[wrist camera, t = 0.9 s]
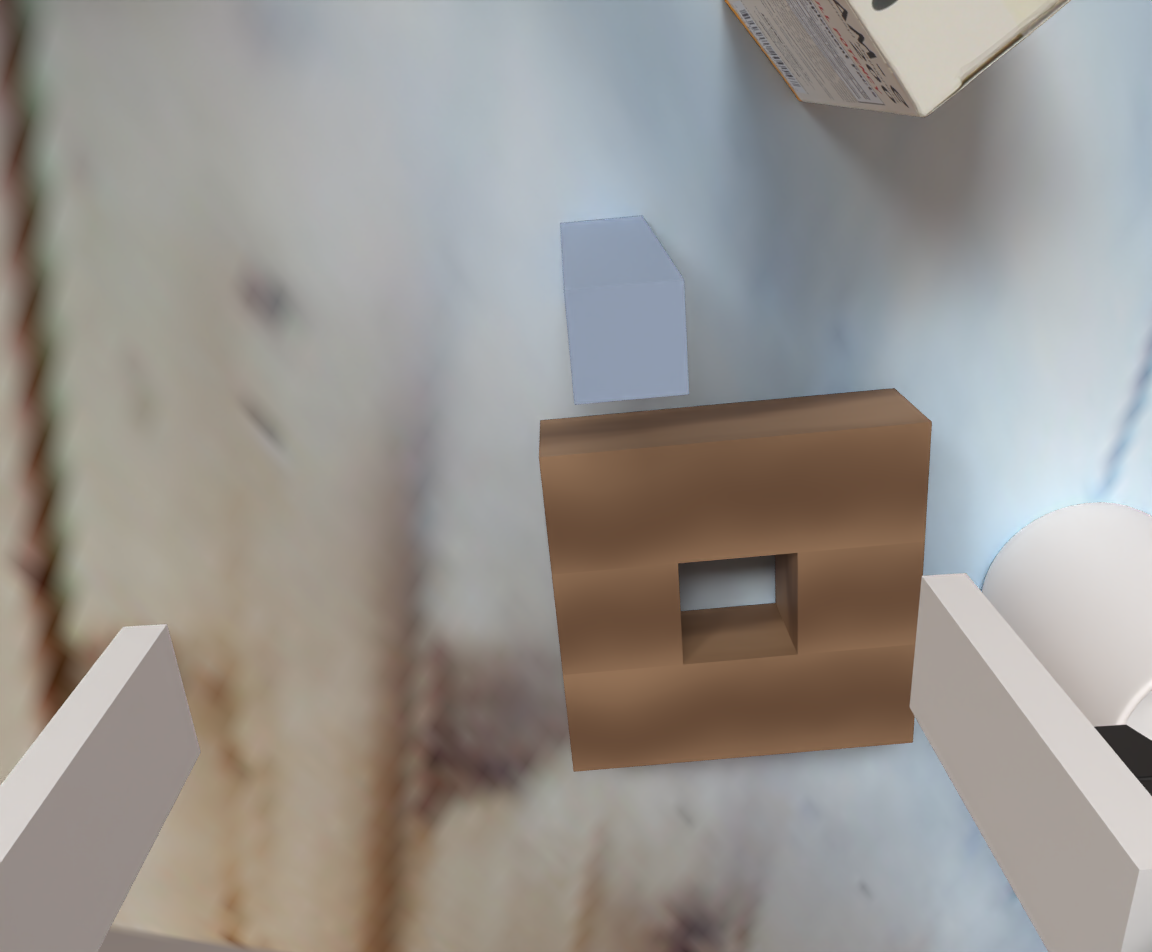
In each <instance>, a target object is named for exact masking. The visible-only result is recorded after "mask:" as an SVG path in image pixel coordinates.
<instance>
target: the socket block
mask: <svg viewBox="0 0 1152 952" xmlns="http://www.w3.org/2000/svg"><path fill="white" fill-rule="evenodd" d="M931 426H932V422H931V421H930V420H929V419H928V418H927V417H926V416H925V415H923V414H922V413H921V412H920V411H919V410H918V409H917V408H916V407H915V406H913V405H912V404H911V403H910V402H909V401H908V400H907V399H906V398H905V397H903V396H902V395H901V394H900V393H899V392H898V391H897V390H896V389H895V388H893V389H882V390H871V391H860V392H849V393H838V394H827V395H816V396H805V397H794V398H783V399H772V400H761V401H750V402H739V403H727V404H716V405H705V406H694V407H683V408H672V409H661V410H650V411H639V412H628V413H617V414H606V415H595V416H584V417H573V418H562V419H551V420H540V443H539V462H540V471H541V480H542V489H543V498H544V507H545V516H546V525H547V534H548V543H549V552H550V562H551V571H552V580H553V589H554V598H555V607H556V616H557V625H558V634H559V643H560V652H561V661H562V670H563V679H564V688H565V697H566V707H567V716H568V725H569V734H570V743H571V752H572V761H573V770H574V772H575V771H587V770H598V769H610V768H622V767H633V766H645V765H657V764H668V763H680V762H691V761H703V760H715V759H726V758H738V757H749V756H761V755H773V754H784V753H796V752H808V751H819V750H831V749H842V748H854V747H866V746H877V745H889V744H901V743H912V742H913V731H914V714H913V712H912V711H911V709H910V696H911V686H912V675H913V664H914V654H915V643H916V632H917V622H918V611H919V600H920V590H921V579H922V576H923V562H924V545H925V528H926V511H927V494H928V477H929V460H930V443H931ZM767 555H775V592H776V603H770V604H759V605H748V606H736V607H725V608H714V609H702V610H691V611H680V592H679V573H678V563H688V562H699V561H711V560H722V559H733V558H744V557H756V556H767Z"/></svg>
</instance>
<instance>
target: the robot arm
mask: <svg viewBox="0 0 1152 952" xmlns="http://www.w3.org/2000/svg"><path fill="white" fill-rule="evenodd" d="M910 709H911V711H912V712H913V714H914V716H915V718H916V719H917V721H918V723H919V725H920V726H921V728H922V730H923V732H924V733H925V735H926V737H927V739H928V740H929V742H930V744H931V746H932V748H933V749H934V751H935V753H936V755H937V756H938V758H939V760H940V762H941V763H942V765H943V767H944V769H945V770H946V772H947V774H948V776H949V777H950V779H951V781H952V783H953V785H954V786H955V788H956V790H957V792H958V793H959V795H960V797H961V799H962V800H963V802H964V804H965V806H966V807H967V809H968V811H969V813H970V814H971V816H972V818H973V820H974V822H975V823H976V825H977V827H978V829H979V830H980V832H981V834H982V836H983V837H984V839H985V841H986V843H987V844H988V846H989V848H990V850H991V851H992V853H993V855H994V857H995V859H996V860H997V862H998V864H999V866H1000V867H1001V869H1002V871H1003V873H1004V874H1005V876H1006V878H1007V880H1008V881H1009V883H1010V885H1011V887H1012V888H1013V890H1014V892H1015V894H1016V896H1017V897H1018V899H1019V901H1020V903H1021V904H1022V906H1023V908H1024V910H1025V911H1026V913H1027V915H1028V917H1029V918H1030V920H1031V922H1032V924H1033V925H1034V927H1035V929H1036V931H1037V933H1038V934H1039V936H1040V938H1041V940H1042V941H1043V943H1044V945H1045V947H1046V948H1047V950H1048V952H1152V740H1150V739H1148V738H1147V737H1145V736H1144V735H1142V734H1141V733H1139V732H1137V731H1136V730H1134V729H1133V728H1131V727H1129V726H1128V725H1112V726H1096V727H1094V726H1093V725H1092V724H1091V723H1090V722H1089V720H1088V719H1087V718H1086V717H1085V716H1084V714H1083V713H1082V712H1081V711H1080V710H1079V708H1078V707H1077V706H1076V705H1075V704H1074V702H1073V701H1072V700H1071V699H1070V698H1069V696H1068V695H1067V694H1066V693H1065V692H1064V690H1063V689H1062V688H1061V687H1060V686H1059V684H1058V683H1057V682H1056V681H1055V680H1054V678H1053V677H1052V676H1051V675H1050V674H1049V672H1048V671H1047V670H1046V669H1045V668H1044V666H1043V665H1042V664H1041V663H1040V662H1039V660H1038V659H1037V658H1036V657H1035V656H1034V654H1033V653H1032V652H1031V651H1030V650H1029V648H1028V647H1027V646H1026V645H1025V644H1024V642H1023V641H1022V640H1021V639H1020V638H1019V636H1018V635H1017V634H1016V633H1015V632H1014V630H1013V629H1012V628H1011V627H1010V626H1009V624H1008V623H1007V622H1006V621H1005V620H1004V618H1003V617H1002V616H1001V615H1000V614H999V612H998V611H997V610H996V609H995V607H994V606H993V605H992V604H991V603H990V601H989V600H988V599H987V598H986V597H985V595H984V594H983V593H982V592H981V591H980V589H979V588H978V587H977V586H976V585H975V583H974V582H973V581H972V580H971V579H970V577H969V576H968V575H967V574H966V573H959V574H944V575H928V576H922V579H921V590H920V600H919V611H918V622H917V632H916V643H915V654H914V664H913V675H912V686H911V696H910ZM199 754H200V748H199V744H198V740H197V736H196V733H195V729H194V725H193V721H192V717H191V714H190V710H189V706H188V702H187V698H186V694H185V691H184V687H183V683H182V679H181V675H180V672H179V668H178V664H177V660H176V656H175V653H174V649H173V645H172V641H171V637H170V634H169V630H168V626H167V624H160V625H144V626H128V627H122V629H121V630H120V631H119V633H118V634H117V635H116V636H115V638H114V639H113V640H112V642H111V643H110V644H109V646H108V647H107V648H106V649H105V651H104V652H103V653H102V655H101V656H100V657H99V658H98V660H97V661H96V662H95V664H94V665H93V666H92V668H91V669H90V670H89V671H88V673H87V674H86V675H85V677H84V678H83V679H82V680H81V682H80V683H79V684H78V686H77V687H76V688H75V690H74V691H73V692H72V693H71V695H70V696H69V697H68V699H67V700H66V701H65V702H64V704H63V705H62V706H61V708H60V709H59V710H58V712H57V713H56V714H55V715H54V717H53V718H52V719H51V721H50V722H49V723H48V724H47V726H46V727H45V728H44V730H43V731H42V732H41V733H40V735H39V736H38V737H37V739H36V740H35V741H34V743H33V744H32V745H31V746H30V748H29V749H28V750H27V752H26V753H25V754H24V755H23V757H22V758H21V759H20V761H19V762H18V763H17V765H16V766H15V767H14V768H13V770H12V771H11V772H10V774H9V775H8V776H7V777H6V779H5V780H4V781H3V783H2V784H1V785H0V952H98V950H99V948H100V946H101V944H102V942H103V941H104V939H105V937H106V935H107V933H108V931H109V929H110V927H111V925H112V923H113V921H114V919H115V917H116V915H117V913H118V911H119V910H120V908H121V906H122V904H123V902H124V900H125V898H126V896H127V894H128V892H129V890H130V888H131V886H132V884H133V882H134V880H135V879H136V877H137V875H138V873H139V871H140V869H141V867H142V865H143V863H144V861H145V859H146V857H147V855H148V853H149V851H150V849H151V848H152V846H153V844H154V842H155V840H156V838H157V836H158V834H159V832H160V830H161V828H162V826H163V824H164V822H165V820H166V818H167V816H168V815H169V813H170V811H171V809H172V807H173V805H174V803H175V801H176V799H177V797H178V795H179V793H180V791H181V789H182V787H183V785H184V784H185V782H186V780H187V778H188V776H189V774H190V772H191V770H192V768H193V766H194V764H195V762H196V760H197V758H198V756H199Z"/></svg>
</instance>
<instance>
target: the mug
mask: <svg viewBox="0 0 1152 952" xmlns="http://www.w3.org/2000/svg"><path fill="white" fill-rule="evenodd" d="M982 593H983V594H984V595H985V597H986V598H987V599H988V600H989V601H990V603H991V604H992V605H993V606H994V607H995V609H996V610H997V611H998V612H999V614H1000V615H1001V616H1002V617H1003V618H1004V620H1005V621H1006V622H1007V623H1008V624H1009V626H1010V627H1011V628H1012V629H1013V630H1014V632H1015V633H1016V634H1017V635H1018V636H1019V638H1020V639H1021V640H1022V641H1023V642H1024V644H1025V645H1026V646H1027V647H1028V648H1029V650H1030V651H1031V652H1032V653H1033V654H1034V656H1035V657H1036V658H1037V659H1038V660H1039V662H1040V663H1041V664H1042V665H1043V666H1044V668H1045V669H1046V670H1047V671H1048V672H1049V674H1050V675H1051V676H1052V677H1053V678H1054V680H1055V681H1056V682H1057V683H1058V684H1059V686H1060V687H1061V688H1062V689H1063V690H1064V692H1065V693H1066V694H1067V695H1068V696H1069V698H1070V699H1071V700H1072V701H1073V702H1074V704H1075V705H1076V706H1077V707H1078V708H1079V710H1080V711H1081V712H1082V713H1083V714H1084V716H1085V717H1086V718H1087V719H1088V720H1089V722H1090V723H1091V724H1092V725H1093V726H1094V727H1096V726H1112V725H1128V726H1129V727H1131V728H1133V729H1134V730H1136V731H1137V732H1139V733H1141V734H1142V735H1144V736H1145V737H1147V738H1148V739H1150V740H1152V516H1151V515H1149V514H1147V513H1145V512H1143V511H1140V510H1137V509H1135V508H1132V507H1129V506H1126V505H1121V504H1116V503H1105V502H1097V503H1083V504H1077V505H1071V506H1068V507H1064V508H1061V509H1058V510H1055V511H1053V512H1050V513H1048V514H1045V515H1043V516H1042V517H1040V518H1038V519H1036V520H1034V521H1033V522H1031V523H1030V524H1028V525H1027V526H1025V527H1024V528H1022V529H1021V530H1020V531H1019V532H1018V533H1016V534H1015V535H1014V536H1013V537H1012V538H1011V539H1010V540H1009V541H1008V542H1007V543H1006V544H1005V545H1004V546H1003V548H1002V549H1001V550H1000V552H999V553H998V554H997V556H996V557H995V559H994V561H993V562H992V564H991V566H990V568H989V570H988V572H987V575H986V577H985V581H984V584H983V588H982Z"/></svg>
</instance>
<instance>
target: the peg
mask: <svg viewBox="0 0 1152 952" xmlns="http://www.w3.org/2000/svg"><path fill="white" fill-rule="evenodd" d="M560 227H561V245H562V263H563V282H564V296H565V307H566V318H567V328H568V339H569V350H570V361H571V372H572V382H573V393H574V404H575V405H577V404H588V403H599V402H610V401H621V400H632V399H643V398H654V397H665V396H676V395H687V394H689V379H688V357H687V334H686V311H685V288H684V279H683V277H682V275H681V274H680V272H679V271H678V269H677V268H676V266H675V265H674V263H673V262H672V260H671V259H670V257H669V256H668V254H667V253H666V251H665V250H664V248H663V247H662V245H661V243H660V242H659V240H658V239H657V237H656V236H655V234H654V233H653V231H652V230H651V228H650V227H649V225H648V224H647V222H646V221H645V219H644V218H643V216H632V217H622V218H611V219H600V220H589V221H579V222H568V223H560Z"/></svg>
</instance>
